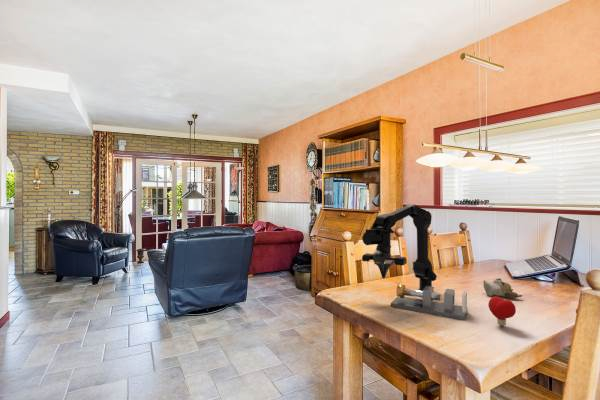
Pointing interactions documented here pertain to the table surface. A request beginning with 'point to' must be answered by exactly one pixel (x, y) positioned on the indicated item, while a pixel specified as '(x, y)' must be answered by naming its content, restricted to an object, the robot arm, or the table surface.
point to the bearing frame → (434, 304)
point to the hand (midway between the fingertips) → (383, 278)
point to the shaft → (414, 293)
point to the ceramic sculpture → (499, 289)
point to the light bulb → (501, 309)
